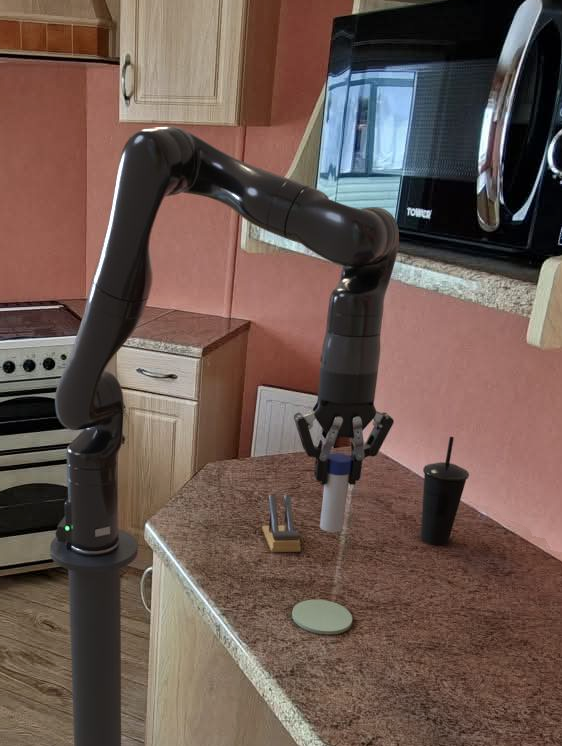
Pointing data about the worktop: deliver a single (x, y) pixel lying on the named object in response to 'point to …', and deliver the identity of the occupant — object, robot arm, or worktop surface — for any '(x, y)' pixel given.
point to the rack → (281, 529)
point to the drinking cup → (441, 498)
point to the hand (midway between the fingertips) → (336, 482)
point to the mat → (322, 616)
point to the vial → (335, 492)
